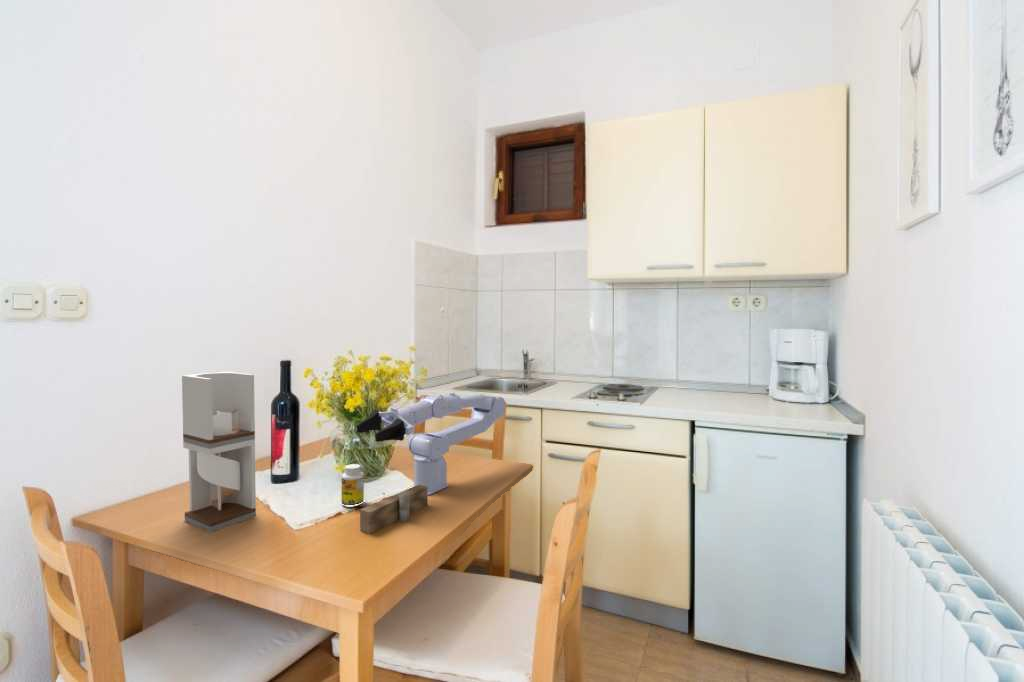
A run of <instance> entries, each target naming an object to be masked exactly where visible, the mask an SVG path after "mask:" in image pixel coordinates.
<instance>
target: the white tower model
mask: <svg viewBox="0 0 1024 682" xmlns="http://www.w3.org/2000/svg"><path fill="white" fill-rule="evenodd" d="M181 387H182V388H181V390H182V391H181V395H182V398H181V399H182V444H183V445H182V447H183V448H184V449H187V450H188V476H189V477H188V479H189V480H188V481H189V482H188V483H189V485H188V486H189V510H188V511H184V522H187V523H188V524H191V525H193V526H195V527H198V528H200V529H203V530H205V531H207V532H209V533H212V532H215V531H217V530H220V529H222V528H226V527H228V526H233V524H237V523H239V522H240V523H241V522H242V521H245V520H247V519H252V518H254V517H256V516H257V506H256V505H257V502H256V500H257V499H256V495H257V494H256V443H255V442H256V431H255V428H256V426H255V425H256V422H255V421H256V420H255V374H250V373H242V372H234V371H220V372H208V373H198V374H197V373H195V374H186V375H181Z"/></svg>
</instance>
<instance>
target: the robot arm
mask: <svg viewBox="0 0 1024 682" xmlns="http://www.w3.org/2000/svg"><path fill="white" fill-rule="evenodd" d="M506 406H507V405H506V401H505V398H503V397H502V396H491V395H486V394H480V393H479V394H477V393H475V394H471V395H465V396H461V397H460V395H458V394H456V393H455V392H448V394H447V395H442V394H437V395H436V397H435V396H422V397H421V398H420V400H419V401H418V402H414V403H413V404H409V405H407V406H404V407H402V408H399V409H398V408H396V407H393V406H392V407H391V408H390V411H380V410H377V409H373V410H372V411H371V412H370V413H369V415H367V417H366V418H364V419H363V420H362V421H360V422H359V423H357V424H356V433H358V434H361V433H365V432H369V431H376V432H375V433H374V435H375V437H374V438H375V439H374V440H375V442H378V443H379V442H386V441H401V442H402V441H404V440H405V435H406V436H410V435H412V434H413V435H412V436H411V437H410V438H409V441H408V450H409V453H411V454H412V458H413V486H416V485H419V484H420V485H424V486H428V496H430V495H432V494H434V493H436V492H438V491H440V490H442V489H445V488H447V487H449V486H450V484H449V483H447V477H448V474H447V472H448V469H447V467H448V466H447V464H448V463H447V461H446V458H444V455H445V454H446V453H449V451H450V447H452V446H454V445H457V444H459V443H462V442H463V441H466V440H468V439H471V438H473V437H474V436H478V435H480V434H482V433H485V432H486V431H488V429H489V428H491V426H492V425H493V424H494V423H495V422H496V421H497V420H499V419H502V418H503V416H504V413H505V411H506V408H507V407H506ZM466 408H472V409H471V415H470V419H468V420H466V421H465V420H464V421H463V422H460V423H457V424H454V425H453V426H449V427H447V428H444V429H441V430H439V431H429V432H425V433H420V432H417V433H415V432H414V431H415V430H414V429H415V428H414V426H417V425H419V424H421V423H424V422H426V421H428V420H431V419H433V418H434V419H435V418H436V419H443V418H444V417H445V416H448V415H452V414H458V413H460V412H461V411H462V409H466ZM382 425H384V426H385V427H384V428H382Z"/></svg>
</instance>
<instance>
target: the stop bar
mask: <svg viewBox="0 0 1024 682" xmlns="http://www.w3.org/2000/svg"><path fill="white" fill-rule="evenodd" d="M413 486H414V485H413ZM411 487H412V486H411ZM408 488H409V489H408ZM408 488H407V489H404V490H401V492H398V493H395V494H393V495H391V496H389V497H387V498H384V499H382V500H379V501H377V502H375V503H372V504H371V505H370V504H369V505H368V506H366V507H363V508H361V509H359V513H360V514H359V516H360V518H359V520H360V521H359V524H360V525H359V526H360V528H359V529H360V532H363V533H365V534H369V535H370V534H372V533H374V532H377V531H379V530H381V529H382V528H384V527H386V526H389V525H390V524H392V523H395V522H398V520H399V522H403V523H404V522H409V521H410V515H411V514H412V513H414V512H416V511H418V510H421V509H423V508H425V507H427V506H428V496H429V495H428V486H424V485H420V484H419V485H416V486H414V487H412V488H410V487H408Z"/></svg>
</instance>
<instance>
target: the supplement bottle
mask: <svg viewBox="0 0 1024 682" xmlns="http://www.w3.org/2000/svg"><path fill="white" fill-rule="evenodd" d="M364 475H365V474H364V473H363V471H362V468H361V464H357V463H352V464H348V465H345V466H344V472H343V474H342V475H341V505H342V504H344V505H355V504H359V503H361V502H363V500H365V499H364V498H365V497H364V496H365V491H364V489H365V476H364ZM363 503H364V502H363Z"/></svg>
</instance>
